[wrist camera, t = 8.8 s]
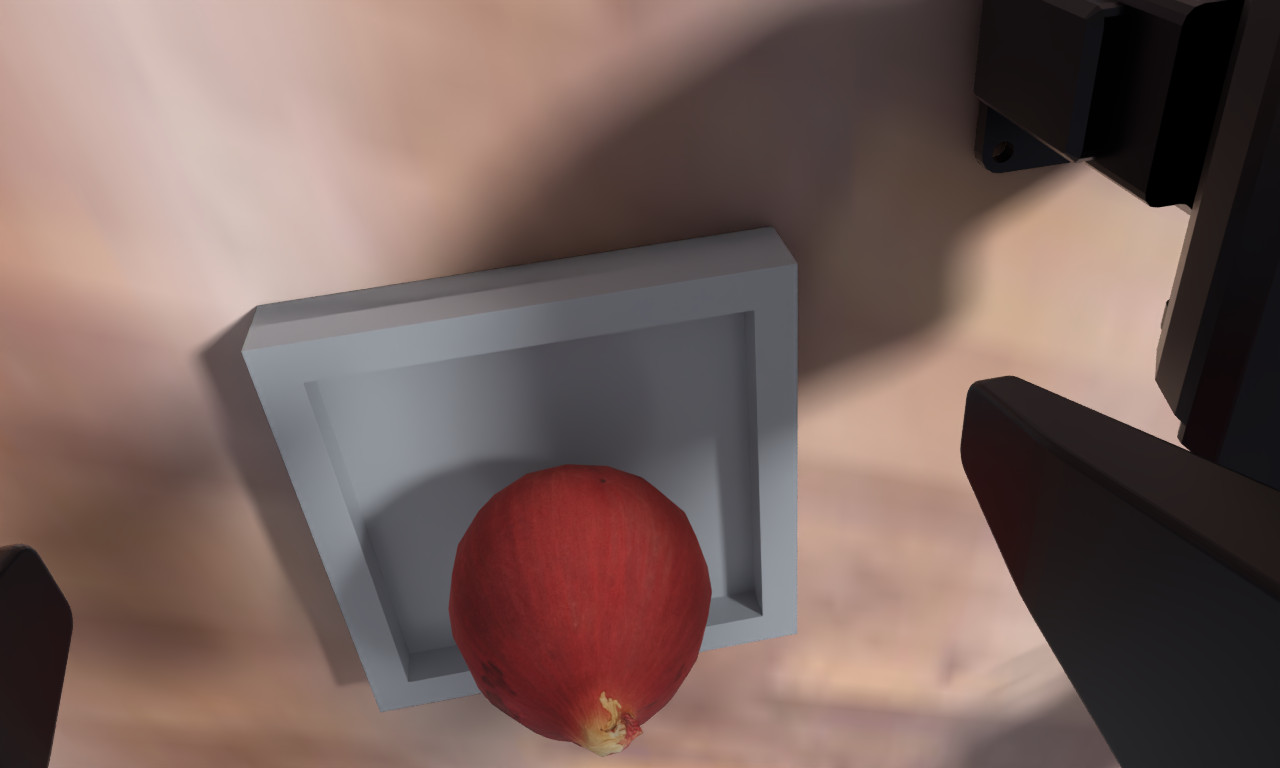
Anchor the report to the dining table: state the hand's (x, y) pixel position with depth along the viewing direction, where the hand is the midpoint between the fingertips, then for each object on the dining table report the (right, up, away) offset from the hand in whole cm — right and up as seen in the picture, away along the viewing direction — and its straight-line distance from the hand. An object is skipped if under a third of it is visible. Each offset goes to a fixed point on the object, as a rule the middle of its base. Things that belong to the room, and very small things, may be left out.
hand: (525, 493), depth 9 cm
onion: (-1, -2, +16) cm, 16 cm away
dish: (-1, -1, +16) cm, 16 cm away
